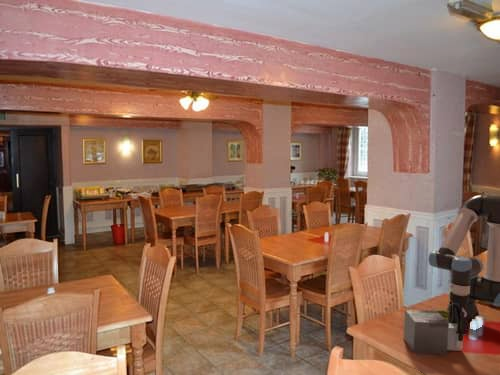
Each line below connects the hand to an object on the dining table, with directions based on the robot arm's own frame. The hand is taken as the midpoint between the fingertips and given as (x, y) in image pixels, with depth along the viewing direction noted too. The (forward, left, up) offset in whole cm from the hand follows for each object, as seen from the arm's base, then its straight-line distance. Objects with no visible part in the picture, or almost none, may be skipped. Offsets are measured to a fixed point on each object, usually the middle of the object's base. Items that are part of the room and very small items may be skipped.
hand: (455, 343), depth 179 cm
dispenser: (+14, 0, -2) cm, 14 cm away
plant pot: (-1, -16, -2) cm, 16 cm away
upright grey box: (+4, 0, -2) cm, 4 cm away
